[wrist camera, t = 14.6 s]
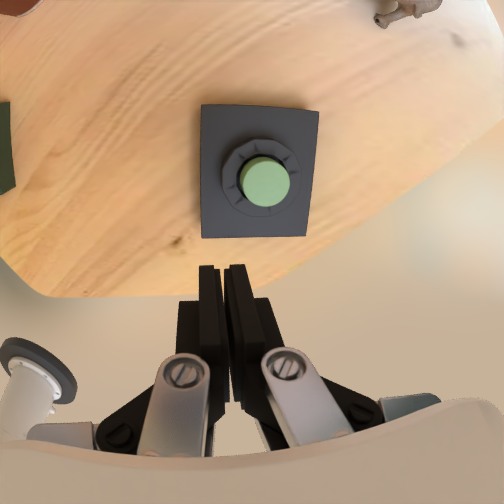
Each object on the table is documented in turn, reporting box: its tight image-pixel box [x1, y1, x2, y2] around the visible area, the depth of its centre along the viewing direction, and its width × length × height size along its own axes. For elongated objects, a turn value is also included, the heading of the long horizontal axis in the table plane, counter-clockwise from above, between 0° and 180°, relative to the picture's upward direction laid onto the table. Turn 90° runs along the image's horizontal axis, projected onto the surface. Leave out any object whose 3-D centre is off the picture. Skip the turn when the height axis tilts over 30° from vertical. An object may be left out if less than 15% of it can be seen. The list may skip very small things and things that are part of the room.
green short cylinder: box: [240, 157, 290, 207], centre depth 22 cm, size 4×4×2 cm
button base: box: [200, 104, 319, 238], centre depth 24 cm, size 12×10×5 cm
